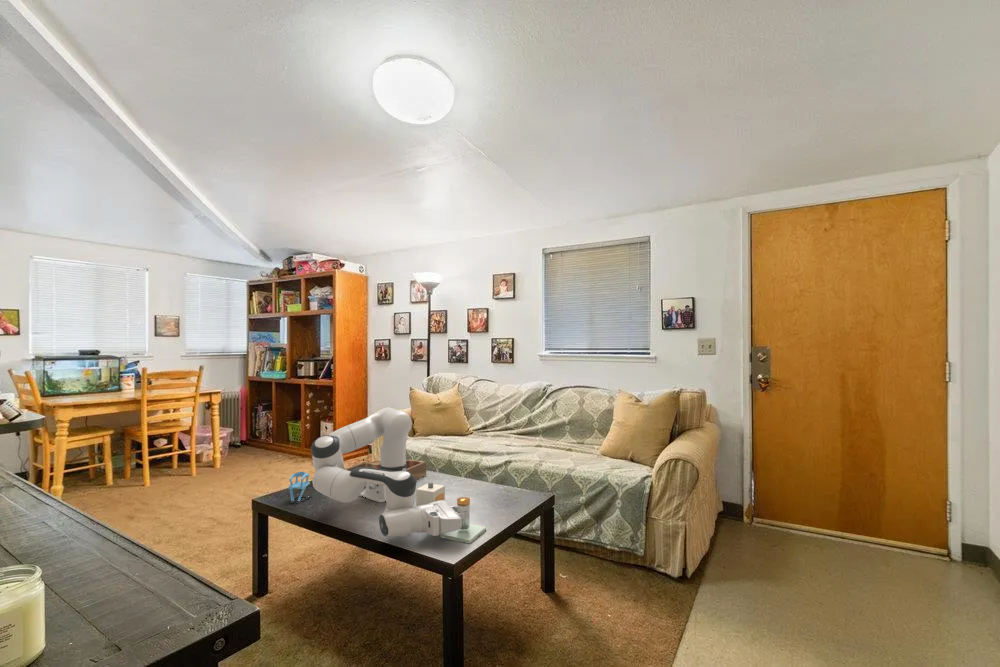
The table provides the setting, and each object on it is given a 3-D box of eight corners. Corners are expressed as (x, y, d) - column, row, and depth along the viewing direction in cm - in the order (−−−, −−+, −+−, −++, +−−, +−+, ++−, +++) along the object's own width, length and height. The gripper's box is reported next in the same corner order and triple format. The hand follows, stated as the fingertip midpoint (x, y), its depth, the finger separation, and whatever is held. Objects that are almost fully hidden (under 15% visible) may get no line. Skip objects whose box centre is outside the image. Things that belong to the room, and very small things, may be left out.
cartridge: (454, 528, 162) (454, 500, 162) (460, 523, 166) (460, 496, 166) (466, 530, 160) (466, 502, 160) (471, 525, 164) (472, 497, 164)
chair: (285, 504, 194) (285, 476, 194) (295, 497, 203) (295, 470, 203) (303, 504, 194) (302, 476, 194) (312, 497, 202) (312, 470, 202)
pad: (440, 537, 160) (440, 534, 160) (457, 524, 171) (457, 521, 171) (469, 543, 155) (469, 540, 155) (486, 530, 166) (485, 527, 166)
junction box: (416, 520, 176) (416, 484, 176) (428, 512, 183) (428, 479, 183) (434, 523, 172) (434, 487, 172) (445, 516, 179) (445, 481, 179)
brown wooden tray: (334, 482, 224) (334, 472, 224) (364, 470, 243) (364, 462, 243) (367, 488, 214) (367, 478, 214) (396, 475, 233) (396, 466, 234)
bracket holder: (385, 482, 222) (384, 468, 222) (408, 472, 238) (408, 459, 238) (403, 486, 217) (403, 471, 217) (426, 475, 233) (426, 461, 233)
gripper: (420, 516, 167) (456, 510, 173) (436, 538, 148) (475, 530, 154) (420, 499, 167) (456, 493, 173) (435, 519, 148) (475, 512, 154)
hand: (465, 511), depth 163 cm, fingers closed on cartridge, 4 cm apart
